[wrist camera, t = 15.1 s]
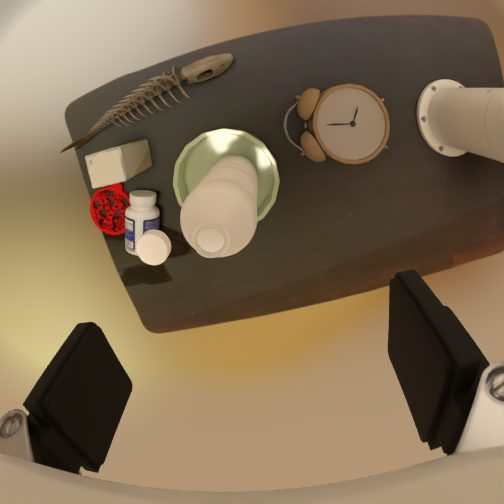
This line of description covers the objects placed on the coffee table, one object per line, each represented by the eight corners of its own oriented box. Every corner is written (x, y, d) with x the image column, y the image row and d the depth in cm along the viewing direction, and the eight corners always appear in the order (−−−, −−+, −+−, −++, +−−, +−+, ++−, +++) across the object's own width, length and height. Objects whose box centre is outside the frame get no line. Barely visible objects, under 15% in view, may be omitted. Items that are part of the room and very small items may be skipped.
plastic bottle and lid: (255, 150, 43) (251, 192, 20) (260, 195, 46) (261, 281, 23) (193, 158, 44) (125, 209, 21) (200, 202, 46) (147, 290, 24)
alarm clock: (393, 162, 41) (293, 171, 39) (376, 157, 45) (283, 166, 44) (388, 84, 36) (284, 84, 35) (371, 86, 41) (275, 88, 39)
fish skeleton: (242, 78, 39) (236, 61, 30) (82, 165, 44) (45, 173, 35) (227, 46, 38) (216, 22, 28) (70, 135, 43) (31, 138, 33)
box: (123, 172, 45) (89, 189, 35) (118, 145, 44) (82, 156, 33) (154, 165, 45) (126, 181, 35) (149, 138, 43) (119, 146, 33)
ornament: (86, 225, 48) (97, 168, 44) (88, 223, 49) (99, 167, 45) (127, 241, 49) (142, 184, 45) (128, 240, 50) (143, 183, 46)
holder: (265, 118, 42) (266, 119, 37) (284, 210, 47) (287, 221, 43) (171, 141, 43) (162, 144, 39) (195, 228, 49) (189, 240, 44)
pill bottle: (159, 243, 51) (162, 189, 47) (157, 257, 46) (159, 199, 42) (127, 241, 49) (128, 187, 46) (122, 255, 45) (122, 197, 41)
